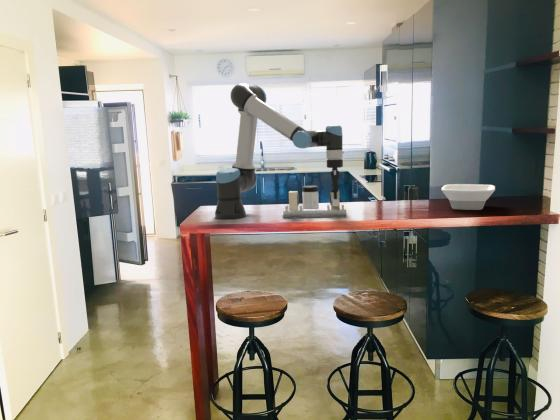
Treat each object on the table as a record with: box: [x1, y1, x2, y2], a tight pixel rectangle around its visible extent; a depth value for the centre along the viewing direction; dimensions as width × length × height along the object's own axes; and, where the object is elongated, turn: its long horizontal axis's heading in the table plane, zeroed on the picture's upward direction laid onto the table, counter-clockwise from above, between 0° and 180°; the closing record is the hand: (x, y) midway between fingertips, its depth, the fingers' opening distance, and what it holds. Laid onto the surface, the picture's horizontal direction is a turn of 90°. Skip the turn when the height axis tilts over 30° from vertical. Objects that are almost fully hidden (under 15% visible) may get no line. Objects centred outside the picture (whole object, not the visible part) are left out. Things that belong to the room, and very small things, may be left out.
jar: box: [301, 185, 320, 209], centre depth 241 cm, size 9×8×12 cm
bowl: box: [440, 183, 496, 211], centre depth 227 cm, size 24×25×10 cm
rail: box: [282, 190, 348, 219], centre depth 220 cm, size 30×9×12 cm, turn 83°
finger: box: [329, 189, 341, 210], centre depth 219 cm, size 4×4×9 cm
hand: (335, 203), depth 219 cm, fingers open, 13 cm apart
